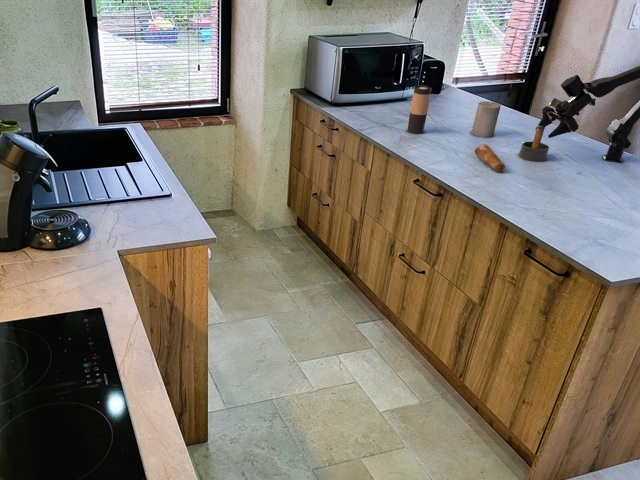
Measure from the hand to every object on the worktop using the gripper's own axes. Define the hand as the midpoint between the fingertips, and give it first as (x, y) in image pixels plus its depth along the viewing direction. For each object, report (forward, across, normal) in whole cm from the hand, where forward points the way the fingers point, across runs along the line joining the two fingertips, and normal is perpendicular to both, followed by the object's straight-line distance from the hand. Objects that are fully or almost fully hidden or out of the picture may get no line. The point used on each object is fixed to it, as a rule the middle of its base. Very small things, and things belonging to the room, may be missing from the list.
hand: (542, 133), depth 243 cm
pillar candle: (+12, -32, +2) cm, 34 cm away
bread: (+24, +7, -10) cm, 27 cm away
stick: (+8, 0, +6) cm, 10 cm away
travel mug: (+33, -39, -20) cm, 55 cm away
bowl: (+8, 0, +6) cm, 10 cm away
